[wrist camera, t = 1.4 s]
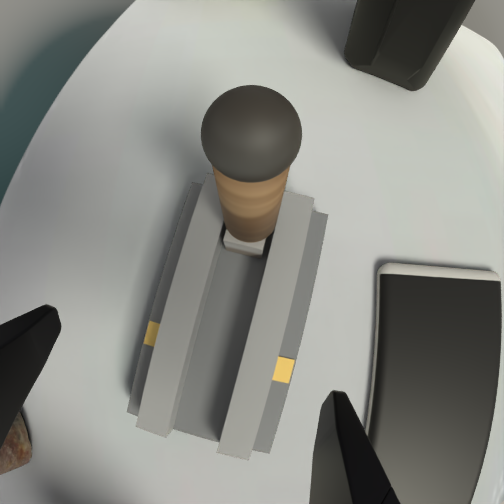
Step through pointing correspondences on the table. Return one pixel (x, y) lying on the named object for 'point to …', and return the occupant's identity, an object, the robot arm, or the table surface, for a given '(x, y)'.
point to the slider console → (227, 326)
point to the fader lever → (250, 161)
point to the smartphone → (434, 379)
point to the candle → (15, 447)
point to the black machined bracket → (403, 37)
